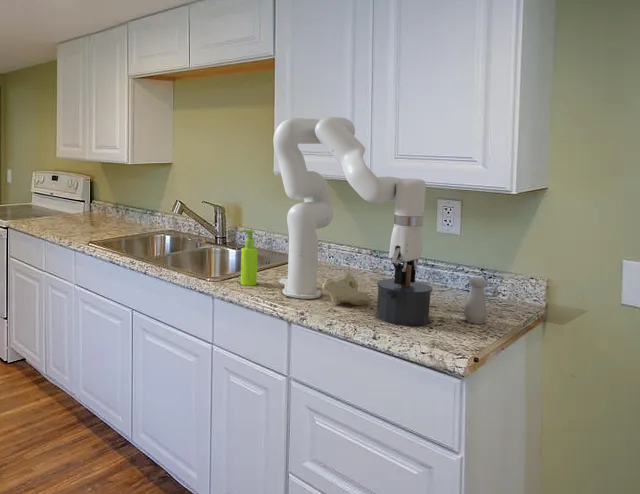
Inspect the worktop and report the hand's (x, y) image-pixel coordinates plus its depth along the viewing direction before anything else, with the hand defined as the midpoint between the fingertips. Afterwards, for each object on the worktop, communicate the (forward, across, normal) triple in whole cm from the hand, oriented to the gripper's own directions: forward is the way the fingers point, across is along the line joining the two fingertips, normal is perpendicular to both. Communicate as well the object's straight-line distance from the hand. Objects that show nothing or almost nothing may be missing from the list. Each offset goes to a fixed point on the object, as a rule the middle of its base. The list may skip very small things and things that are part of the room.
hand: (404, 282), depth 161 cm
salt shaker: (+11, -14, +14) cm, 23 cm away
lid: (+1, 0, 0) cm, 1 cm away
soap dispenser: (+11, +6, -55) cm, 56 cm away
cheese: (+11, +2, -18) cm, 21 cm away
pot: (+11, 0, 0) cm, 11 cm away
